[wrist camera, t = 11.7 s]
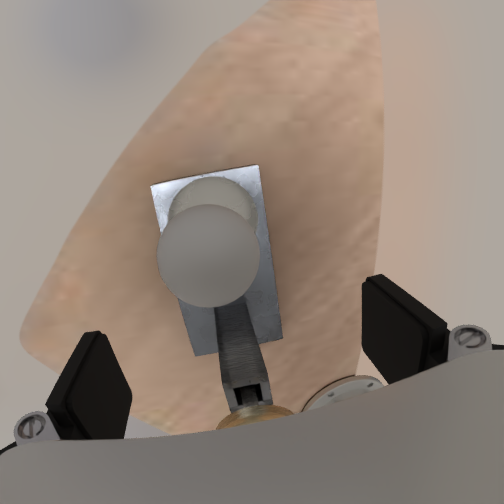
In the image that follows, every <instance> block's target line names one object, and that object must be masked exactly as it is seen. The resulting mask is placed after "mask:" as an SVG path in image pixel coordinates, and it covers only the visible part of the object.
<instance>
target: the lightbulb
mask: <svg viewBox="0 0 504 504" xmlns="http://www.w3.org/2000/svg"><path fill="white" fill-rule="evenodd" d="M259 261H260V250H259V244H258V240H257V237H256V235H255V233H254V231H253V229H252V227H251V226H250V225H249V223H248V222H247V221H246V220H245V219H244V218H243V217H242V216H241V215H240V214H238V213H237V212H235V211H233V210H231V209H229V208H227V207H224V206H220V205H214V204H203V205H196V206H193V207H190V208H187V209H185V210H183V211H182V212H180V213H178V214H177V215H176V216H175V217H173V218H172V219H171V220H170V222H169V223H168V224H167V225H166V227H165V228H164V230H163V232H162V234H161V236H160V239H159V242H158V246H157V263H158V269H159V272H160V275H161V277H162V280H163V281H164V283H165V284H166V286H167V287H168V289H169V290H170V291H171V292H172V293H173V294H174V295H175V296H176V297H178V298H179V299H181V300H182V301H184V302H186V303H188V304H191V305H194V306H198V307H207V308H211V307H219V306H222V305H226V304H228V303H230V302H233V301H235V300H236V299H238V298H239V297H240V296H242V295H243V294H244V293H245V292H246V291H247V289H248V288H249V287H250V285H251V284H252V282H253V280H254V279H255V276H256V274H257V271H258V267H259Z"/></svg>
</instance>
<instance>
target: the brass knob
mask: <svg viewBox="0 0 504 504" xmlns="http://www.w3.org/2000/svg"><path fill="white" fill-rule="evenodd" d="M240 391H241V396H242V402H243V407H244V408H243V409H240V410H238V411H235V412H233V413H232V414H230V415H228V416H227V417H225V418H224V419H223V420H222V421H221V422H220V423H219V424H218V426H217V428H216V430H219V429H225V428H231V427H236V426H242V425H247V424H252V423H257V422H262V421H267V420H271V419H276V418H280V417H284V416H289V415H293V414H294V413H293V412H291V411H290V410H288V409H286V408H283V407H280V406H275V405H259V403H258V399H257V395H256V391H255V387H254V384H252V385H247V386H243V387H240Z"/></svg>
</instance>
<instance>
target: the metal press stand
mask: <svg viewBox="0 0 504 504" xmlns="http://www.w3.org/2000/svg"><path fill="white" fill-rule="evenodd" d="M151 190H152V195H153V200H154V205H155V209H156V214H157V218H158V222H159V227H160V231H161V234H162V232H163V230H164V228H165V227H166V225H167V224H168V223H169V222H170V220H171V219H172V218H173V217H175V216H176V215H177V214H178V213H180V212H182V211H183V210H185V209H187V208H190V207H193V206H196V205H203V204H214V205H220V206H224V207H227V208H229V209H231V210H233V211H235V212H237V213H238V214H240V215H241V216H242V217H243V218H244V219H245V220H246V221H247V222H248V223H249V225H250V226H251V227H252V229H253V231H254V233H255V235H256V237H257V240H258V244H259V250H260V261H259V267H258V271H257V274H256V276H255V279H254V280H253V282H252V284H251V285H250V287H249V288H248V289H247V291H246V292H245V293H244V294H243V295H242V296H240V297H239V298H238V299H236V300H235V301H233V302H230V303H228V304H226V305H222V306H219V307H211V308H207V307H198V306H194V305H191V304H188V303H186V302H184V301H182V300H181V299H179V298H178V301H179V304H180V308H181V311H182V315H183V318H184V322H185V325H186V328H187V332H188V335H189V338H190V342H191V345H192V348H193V351H194V354H195V356H201V355H206V354H212V353H217V352H218V353H219V362H220V370H221V378H222V385H223V388H224V392H225V395H226V398H227V401H228V405H229V408H230V411H231V413H233V412H235V411H238V410H240V409H243V408H244V407H243V402H242V396H241V391H240V387H243V386H247V385H252V384H254V387H255V391H256V395H257V399H258V403H259V405H273V401H272V395H271V389H270V384H269V378H268V373H267V370H266V367H265V364H264V360H263V357H262V354H261V351H260V347H259V344H261V343H266V342H270V341H274V340H279V339H283V335H282V327H281V320H280V312H279V305H278V298H277V290H276V283H275V276H274V269H273V262H272V255H271V248H270V241H269V234H268V227H267V220H266V213H265V207H264V200H263V193H262V187H261V180H260V174H259V167H258V165H256V164H254V165H248V166H242V167H236V168H230V169H225V170H219V171H214V172H209V173H203V174H198V175H193V176H188V177H184V178H179V179H174V180H169V181H165V182H160V183H156V184H153V185H151Z"/></svg>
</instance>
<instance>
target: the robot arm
mask: <svg viewBox="0 0 504 504" xmlns="http://www.w3.org/2000/svg"><path fill="white" fill-rule="evenodd" d="M362 348H363V351H364V352H365V354H366V355H367V356H368V358H369V359H370V360H371V361H372V363H373V364H374V365H375V367H376V368H377V369H378V371H379V372H380V373H381V375H382V376H383V377H384V379H385V380H386V381H387V383H388V384H389V385H387V386H383V384H382V383H381V382H380V381H379V380H378V379H376V378H374V377H371V376H365V375H364V376H353V377H348V378H345V379H342V380H339V381H337V382H335V383H333V384H331V385H329V386H327V387H326V388H324V389H323V390H321V391H320V392H319V393H317V394H316V395H315V396H314V397H313V398H312V399H311V400H310V401H309V402H308V404H307V405H306V406H305V408H304V410H303V412H301V413H297V414H293V415H289V416H284V417H280V418H276V419H271V420H267V421H262V422H257V423H252V424H247V425H242V426H236V427H231V428H225V429H219V430H212V431H205V432H198V433H190V434H181V435H172V436H162V437H149V438H134V439H124V435H125V430H126V425H127V420H128V416H129V412H130V407H131V403H132V392H131V389H130V387H129V385H128V383H127V381H126V379H125V377H124V374H123V372H122V370H121V368H120V366H119V363H118V361H117V359H116V357H115V354H114V352H113V350H112V347H111V345H110V343H109V340H108V338H107V336H106V335H105V334H102V333H101V332H100V331H93V332H85V333H84V334H83V336H82V338H81V339H80V341H79V343H78V345H77V346H76V348H75V350H74V351H73V353H72V355H71V357H70V359H69V360H68V362H67V364H66V366H65V368H64V369H63V371H62V373H61V375H60V377H59V379H58V381H57V383H56V384H55V386H54V388H53V390H52V392H51V394H50V396H49V398H48V400H47V402H46V404H45V405H46V406H47V408H48V411H47V413H44V412H40V411H35V412H31V413H28V414H26V415H25V416H23V417H22V418H21V419H20V420H19V421H18V422H17V424H16V425H15V428H14V437H15V440H16V441H15V442H13V443H12V444H10V445H8V446H7V447H5V448H3V449H2V450H0V504H504V345H495V344H491V338H490V335H489V333H488V332H487V331H486V330H484V329H483V328H481V327H478V326H475V325H461V326H458V327H456V328H454V329H453V330H452V331H449V330H448V329H447V323H446V322H445V321H444V320H443V319H441V318H440V317H439V316H437V315H436V314H435V313H434V312H432V311H431V310H430V309H428V308H427V307H426V306H424V305H423V304H422V303H420V302H419V301H418V300H416V299H415V298H414V297H412V296H411V295H410V294H408V293H407V292H406V291H404V290H403V289H402V288H400V287H399V286H398V285H396V284H395V283H394V282H392V281H391V280H390V279H388V278H387V277H385V276H384V275H382V274H379V275H375V276H371V277H367V278H366V281H365V282H363V283H362Z"/></svg>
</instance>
